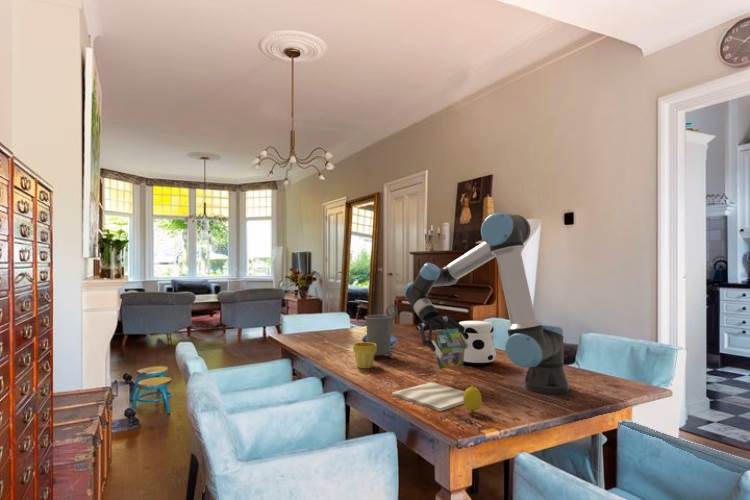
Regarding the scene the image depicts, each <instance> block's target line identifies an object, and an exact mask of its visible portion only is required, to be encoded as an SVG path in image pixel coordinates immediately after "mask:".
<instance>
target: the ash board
mask: <svg viewBox="0 0 750 500" xmlns="http://www.w3.org/2000/svg"><path fill="white" fill-rule="evenodd" d="M464 392H465V390H461V389H459V388H458V389H457V388H454V387H450V386H447V385H442V384H440V383H435V382H432V381H431V382H430V381H429V382H426V383H423V384H422V383H421V384H419V385H416V386H415V385H414V386H411V387H407V388H403V389H400V390H396V391H392V392H391V395H392V396H393V397H396V398H398V399H402V400H405V401H407V402H411V403H414V404H417V405H420V406H423V407H426V408H430V409H432V410H435V411H438V412H443V411H445V410H446V411H447V410H448V409H452V408H454V407H458V406H461V405H464V401H463V396H464Z"/></svg>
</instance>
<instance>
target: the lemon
mask: <svg viewBox="0 0 750 500" xmlns="http://www.w3.org/2000/svg"><path fill="white" fill-rule="evenodd" d="M464 391H465V392H464V396H463V401H464V404H463V405H464V406H465V408H466V409H467V410H469V411H470V412H471V413H475V411H478V409H480V407H481V406H482V399H483V398H482V393H481V392H480V390H479V389H478V388H476V387H474V386H473V385H471V386H470V387H468V388H466V389H465V390H464Z"/></svg>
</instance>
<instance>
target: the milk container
mask: <svg viewBox="0 0 750 500" xmlns="http://www.w3.org/2000/svg"><path fill="white" fill-rule="evenodd" d="M458 323H459V324H461V325H462V326H463V327H465V330H464V333H463V334H464V335H465V336H466V341H467V342H468V343H469V346H468V349H466V348H465V352H464V361H463V364H466V365H475V366H476V365H477V366H479V365H481V366H482V365H483V366H484V365H489V364H493V363H494V361H495V360H496V356H497V355H496V354H497V353H496V347H495V343H494V333H495V332H494V329H495V327H494V324H493V322H489V321H485V320H463V321H459V322H458Z"/></svg>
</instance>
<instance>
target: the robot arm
mask: <svg viewBox="0 0 750 500" xmlns="http://www.w3.org/2000/svg"><path fill="white" fill-rule="evenodd" d="M480 235H481V239H482V240H483V242H481V243H480V244H478V245H476V246H475V247H473V248H471V249H470V250H468V251H467V252H465V253H464V254H463V255H461V256H459V257H458V258H456V259H455V260H453V261H451V262H450V263H448V264H447V265H445V266H443V267H442V268H440V267H438V265H436V264H434V263H431V262H426V263H424V264H423V266H422V267H421V269H420V270H419V272H418V274H417V276H416V278H415V280H414V281H411V282H408V283H407V285H404V287H403V289H402V293H403V295H404V297H405V299H406V301H407V303H408V304H410V306H411V307H412V309H413V311H414V313H416V315H417V317H418V319H420V321H421V322H422V323H421V322H417V330H418V331H419V334H420V339H421V344H422V347H426V346H427V348H430V350H431V351H432V352H434V351H435V352H436V354H437V355H438V357H439V358H442V352H441V351H440V349H439V348H438V346H437V345H436V343H435V339H434V340H432V336H433V331H437V329H438V330H439V329H441V330H445V329H447V328H448V329H457V328H458V329H459V331H460V334H461V336H462V338H463V340H464V343H465V348H466V349H468V346H469V343H468V342H467V341H466V336H465V335H464V334H463V333H464V330H465V327H463V326H462V325H461V324H459V322H458V321H457V320H455V319H454V318H453V317H451V315H450V314H448V313H446V314H445V316H443V315H440V313H439V311H438V310H437V308H436V307H435V306H434V304H433V303H432V302H431V300H430V299H429V298H428V294H429V293H430V291H431V290H432V288H433V287H444V286H446V287H447V286H448V287H449V286H452V285H455V284H456V283H457V282H458V281H459V280H460V278H462V277H464V276H466V275H467V274H469V273H470V272H472V271H474V270H476V269H478V268H479V267H481V266H484V264H486V263H488V262H489V261H490V260H493V259H494V258H496V262H497V267H498V271H499V276H500V281H501V285H502V290H503V294H504V299H505V304H506V308H507V313H508V318H509V323H510V324H509V326H508V327H507V335H508V338H507V340H506V342H505V348H504V349H505V352H506V353H505V354H506V356H507V358H508V359H509V360H510V362H512V364H514V365H515V366H518V367H520V368H526V369H527V368H528V370H527V372H526V375H525V378H524V388H525V389H527V390H528V391H531V392H535V393H540V394H548V395H559V394H560V395H561V394H566V393H568V392H569V391H570V384H569V381H568V377H567V375H566V374H567V373H566V372H565V369H564V331H563V328H562V327H560V326H557V325H548V324H542V323H541V322H540V321H539V320H537V318H536V315H535V314H536V313H535V310H534V305H533V301H532V297H531V293H530V288H529V284H528V283H529V282H528V279H527V276H526V275H527V274H526V270H525V266H524V265H525V264H524V261H523V256H522V250H523V249H524V247H525V245H524V244H525V243H526V242H527V241H528V239H529V237H530V236H531V225H530V223H529V221H528V220H527V219H526V218H525V217H523V216H522V215H520V214H512V213H506V212H502V211H501V212H494V213H491V214H490V215H488V216H486V218H485V219H484V221H483V222H482V224H481V227H480ZM424 328H427V329H428V337H427V338H428V339H426V333H425V329H424ZM435 352H434V353H435Z"/></svg>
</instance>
